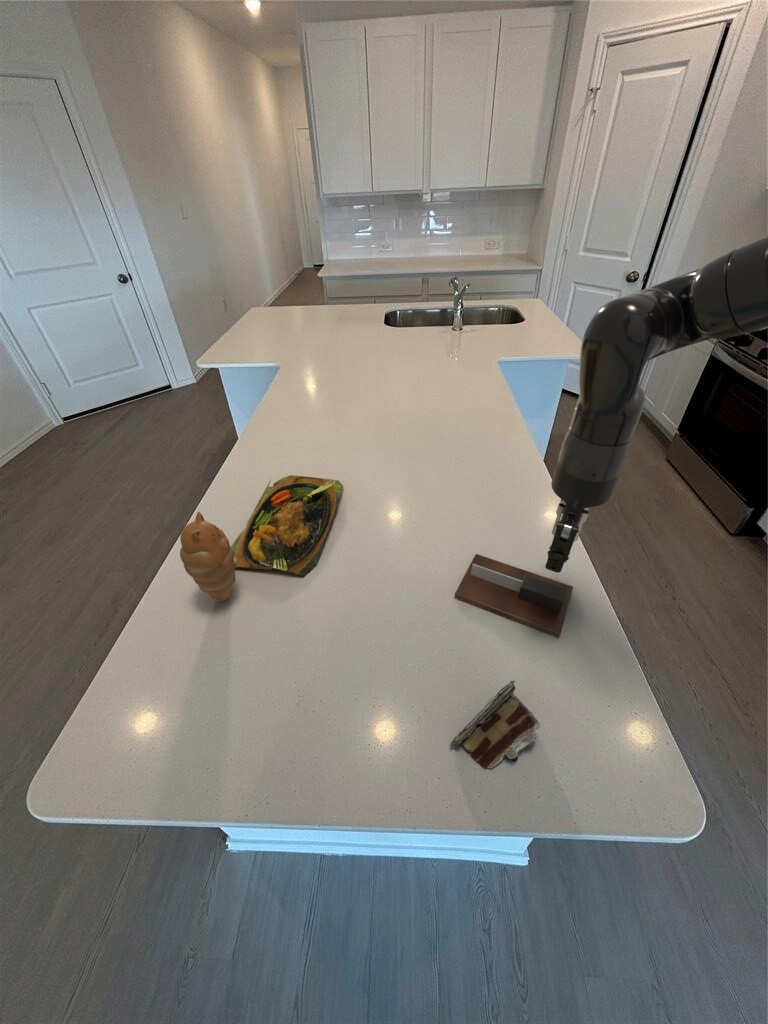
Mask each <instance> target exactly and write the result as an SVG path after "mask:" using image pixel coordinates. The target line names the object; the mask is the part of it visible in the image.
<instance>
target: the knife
mask: <svg viewBox="0 0 768 1024" xmlns="http://www.w3.org/2000/svg"><path fill="white" fill-rule="evenodd" d="M471 575H473V576H475V577H478V578H481V579H484V580H486V581H489V582H492V583H495V584H498V585H500V586H503V587H506V588H509V589H511V590H514V591H517V592H519V595H518V598H519V599H522V600H525V601H527V602H530V603H533V604H536V605H538V606H541V607H544V608H547V609H549V610H552V611H555V612H558V613H560V610H561V608H562V605H563V602H564V599H565V596H566V592H567V589H564V588H562V587H559V586H556V585H553V584H550V583H547V582H544V581H541V580H538V579H535V578H532V577H529V576H527V575H525V577H524V580H523V581H521V580H518V579H515V578H513V577H510V576H507V575H504V574H501V573H498V572H495V571H493V570H490V569H487V568H484V567H481V566H478V565H475V564H472V570H471Z"/></svg>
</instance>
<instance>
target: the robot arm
mask: <svg viewBox="0 0 768 1024" xmlns="http://www.w3.org/2000/svg"><path fill="white" fill-rule="evenodd" d="M766 329H768V235H764V236H763V237H761V238H758V239H756V240H753V241H751V242H749V243H746V244H744V245H742V246H738V247H737V248H735V249H732V250H730V251H728V252H726V253H724V254H721V255H720V256H718V257H716V258H714V259H712V260H711V261H709V262H707V263H705V265H703V266H702V267H700V268H697V269H694V270H692V271H689V272H687V273H684V274H680V275H679V276H675V277H673V278H670V279H668V280H664V281H662V282H660V283H658V284H654V285H652V286H649V287H647V288H644V289H641V290H637V291H635V292H632V293H629V294H626V295H623V296H620V297H617V298H615V299H612V300H609V301H608V302H607V303H605V304H604V305H602V306H601V307H600V308H598V310H597V311H596V312H595V313H594V314H593V316H592V318H591V319H590V320H589V323H588V325H587V327H586V329H585V332H584V335H583V337H582V341H581V345H580V352H579V374H578V384H579V385H578V388H579V389H578V390H579V393H578V394H579V395H578V398H577V400H576V404H575V406H574V410H573V413H572V417H571V420H570V425H569V427H568V430H567V432H566V434H565V436H564V439H563V441H562V444H561V448H560V451H559V455H558V458H557V462H556V465H555V469H554V472H553V475H552V479H551V482H550V483H551V484H550V485H551V489H552V490H553V493H554V494H555V496H557V497H558V498H559V499H560V501H559V503H558V505H557V509H556V510H555V511H556V512H555V513H556V518H555V521H554V524H553V528H552V530H551V535H552V536H553V539H552V542H551V544H550V545H549V548H548V551H547V560H546V563H545V566H544V567H545V569H546V570H548V571H551V572H554V573H556V574H560V573H561V572H562V570H563V568H564V564H565V563H567V561H569V559H570V557H569V556H570V554H571V550H572V547H573V545H574V543H575V542H577V541H578V540H579V537H580V534H581V531H582V528H583V525H584V523H586V522H587V520H588V516H589V514H590V509H591V508H595V507H599V506H602V505H604V504H606V503H607V502H608V501H609V500H610V499H611V496H612V495H613V492H614V488H615V486H616V484H617V482H618V479H619V477H620V474H621V471H622V470H623V467H624V465H625V462H626V461H627V460H626V459H627V457H628V454H629V451H630V445H631V442H632V438H633V436H634V433H635V431H636V429H637V426H638V423H639V421H640V419H641V417H642V414H643V411H644V408H645V404H646V394H645V391H644V389H643V388H642V387H641V386H640V382H641V378H642V374H643V371H644V369H645V367H646V365H647V363H648V362H650V361H651V360H653V359H655V358H658V357H659V356H662V355H665V354H667V353H670V352H673V351H676V350H679V349H682V348H684V347H689V346H692V345H694V344H698V343H701V342H704V341H705V342H706V341H708V340H710V339H713V340H724V339H731V338H735V337H739V336H744V335H747V334H751V333H755V332H758V331H763V330H766Z"/></svg>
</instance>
